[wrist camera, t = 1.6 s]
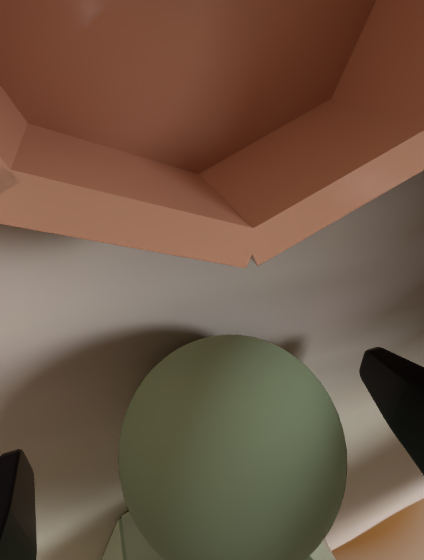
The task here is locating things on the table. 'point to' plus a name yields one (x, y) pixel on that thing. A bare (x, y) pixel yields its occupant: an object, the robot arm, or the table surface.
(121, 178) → the terracotta cup
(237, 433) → the ball
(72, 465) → the table surface
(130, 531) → the green cup
